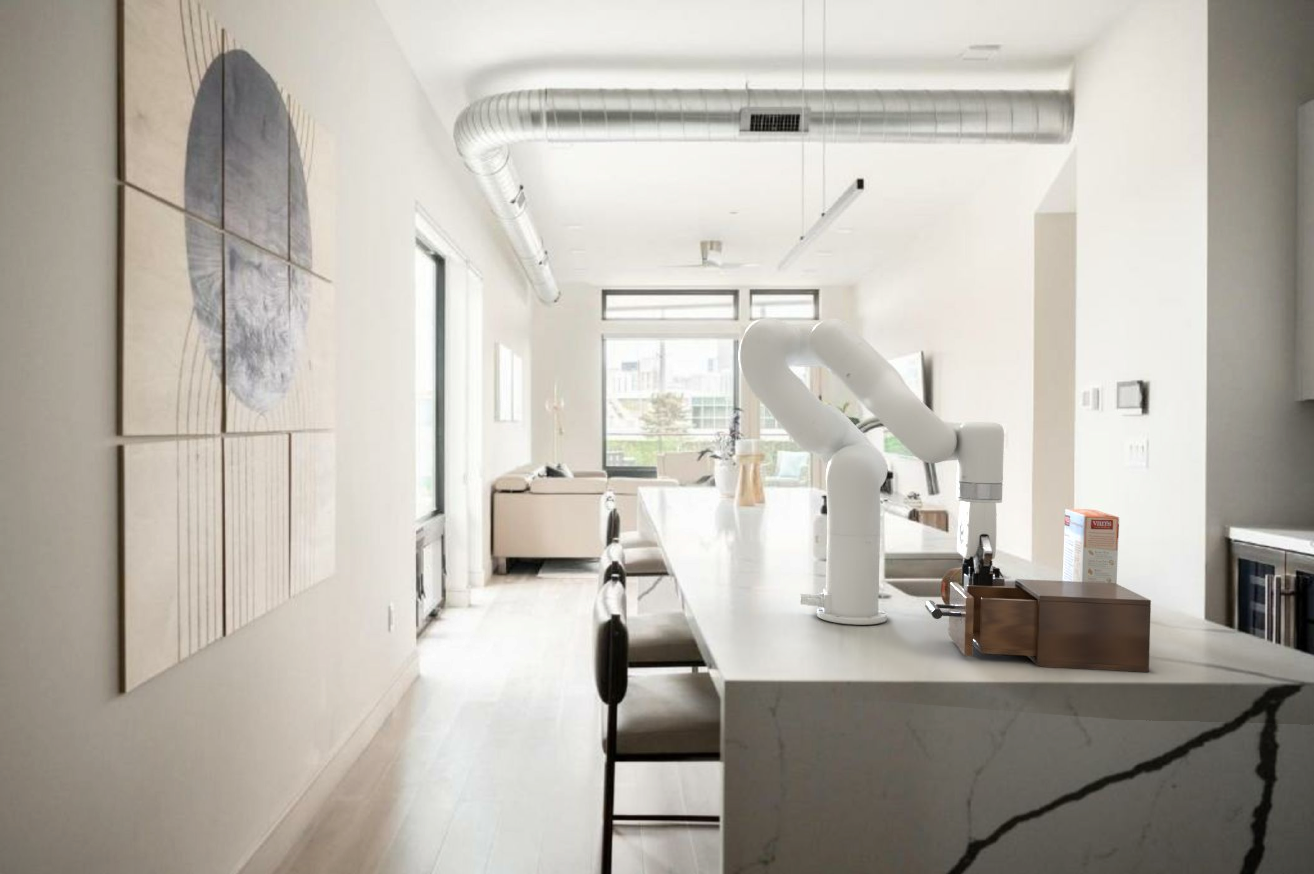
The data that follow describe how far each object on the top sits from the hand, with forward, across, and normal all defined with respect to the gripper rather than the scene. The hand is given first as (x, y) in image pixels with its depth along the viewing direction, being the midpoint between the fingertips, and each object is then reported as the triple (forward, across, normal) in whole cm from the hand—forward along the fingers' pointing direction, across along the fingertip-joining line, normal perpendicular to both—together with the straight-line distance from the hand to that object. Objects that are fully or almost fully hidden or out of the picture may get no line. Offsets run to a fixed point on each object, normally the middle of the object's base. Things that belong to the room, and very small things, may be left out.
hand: (976, 591), depth 160 cm
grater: (+7, 0, +1) cm, 7 cm away
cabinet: (+7, +16, +12) cm, 21 cm away
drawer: (+6, +16, -1) cm, 17 cm away
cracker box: (+7, -5, +20) cm, 22 cm away
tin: (+7, -19, +3) cm, 20 cm away
